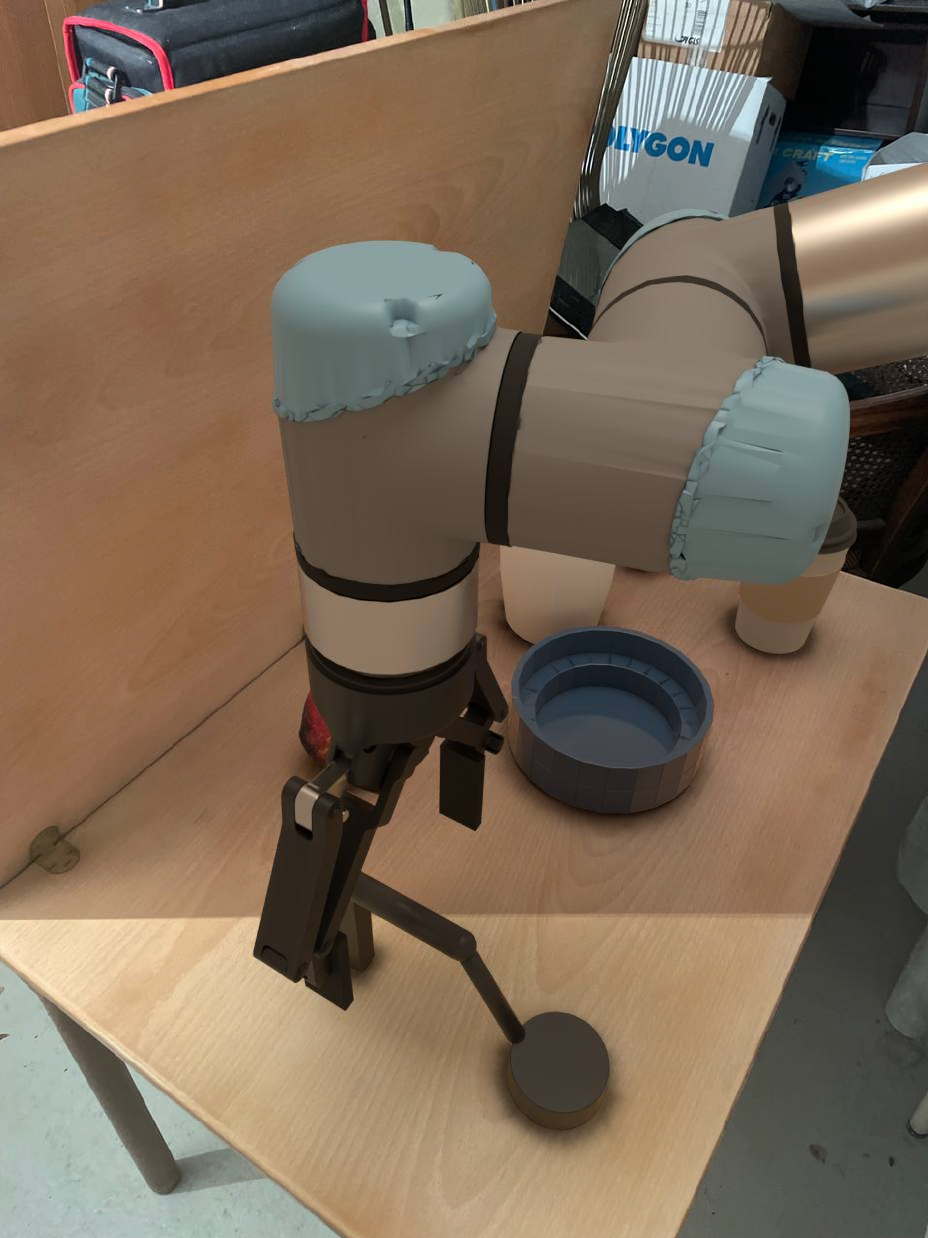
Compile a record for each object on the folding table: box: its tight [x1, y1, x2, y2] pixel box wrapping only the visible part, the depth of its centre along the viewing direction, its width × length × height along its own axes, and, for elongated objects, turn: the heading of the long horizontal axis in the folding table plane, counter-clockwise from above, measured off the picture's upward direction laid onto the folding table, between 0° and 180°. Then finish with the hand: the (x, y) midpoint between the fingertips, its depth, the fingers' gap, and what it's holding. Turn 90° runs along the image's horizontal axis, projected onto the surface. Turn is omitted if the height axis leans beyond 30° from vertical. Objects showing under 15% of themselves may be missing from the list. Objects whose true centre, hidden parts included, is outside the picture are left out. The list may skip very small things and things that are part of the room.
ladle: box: [339, 870, 611, 1130], centre depth 55 cm, size 19×6×10 cm, turn 59°
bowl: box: [507, 625, 715, 814], centre depth 75 cm, size 16×16×6 cm
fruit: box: [298, 689, 331, 769], centre depth 72 cm, size 8×8×8 cm
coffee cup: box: [734, 495, 858, 655], centre depth 83 cm, size 9×9×15 cm
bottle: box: [499, 545, 616, 645], centre depth 81 cm, size 11×11×25 cm
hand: (400, 898), depth 53 cm, fingers open, 13 cm apart
